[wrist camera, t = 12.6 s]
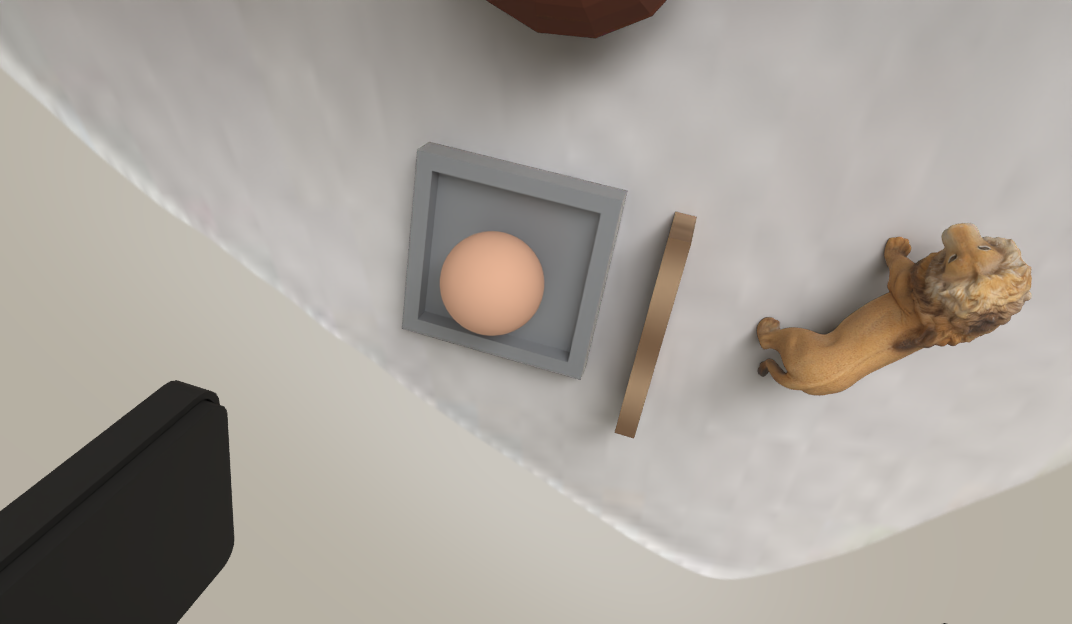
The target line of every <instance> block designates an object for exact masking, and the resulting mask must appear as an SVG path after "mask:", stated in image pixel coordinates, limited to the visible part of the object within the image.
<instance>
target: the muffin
mask: <svg viewBox="0 0 1072 624" xmlns="http://www.w3.org/2000/svg"><path fill="white" fill-rule="evenodd" d="M486 1H488V2H489V3H491V4H493V5H494V6H496V7H497V8H499V9H501V10H502V11H504V12H506V13H507V14H509V15H510V16H512V17H514V18H515V19H517V20H518V21H520V22H522V23H523V24H525V25H526V26H528V27H530V28H531V29H533V30H534V31H536V32H538V33H548V34H558V35H568V36H578V37H588V38H598V37H600V36H603V35H605V34H608V33H610V32H613V31H615V30H618V29H620V28H623V27H626V26H628V25H631V24H633V23H636V22H638V21H641V20H643V19H646V18H648V17H651V16H653V15H654V13H655V12H656V11H657V10H658V9H659V8H660V7H661V6H662V5H663V4H664V3H665V1H666V0H486Z"/></svg>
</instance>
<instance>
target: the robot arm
mask: <svg viewBox="0 0 1072 624" xmlns="http://www.w3.org/2000/svg"><path fill="white" fill-rule="evenodd" d="M230 473H231V472H230V453H229V435H228V417H227V410H226V409H225V407H224V406H221V405H220V403H219V398H218V396H217V395H216V393H214V392H212V391H209V390H206V389H203V388H200V387H196V386H193V385H190V384H187V383H184V382H180V381H177V380H176V381H170V382H169V383H167V384H165V385H163V386H162V387H161V388H160V389H158V390H157V391H156V392H155V393H153V394H152V395H151V396H149V397H148V398H147V399H145V400H144V401H143V402H141V403H140V404H139V405H137V406H136V407H135V408H134V409H132V410H131V411H130V412H128V413H127V414H126V415H125V416H123V417H122V418H121V419H119V420H118V421H117V422H116V423H114V424H113V425H112V426H110V427H109V428H108V429H107V430H105V431H104V432H103V433H101V434H100V435H99V436H98V437H96V438H95V439H93V440H92V441H91V442H89V443H88V444H87V445H86V446H84V447H83V448H82V449H80V450H79V451H78V452H77V453H75V454H74V455H73V456H71V457H70V458H69V459H67V460H66V461H65V462H64V463H62V464H61V465H60V466H58V467H57V468H56V469H55V470H53V471H52V472H51V473H49V474H48V475H47V476H46V477H44V478H43V479H41V480H40V481H39V482H38V483H36V484H35V485H34V486H33V487H31V488H30V489H29V490H28V491H26V492H25V493H23V494H22V495H21V496H19V497H18V498H17V499H16V500H14V501H13V502H12V503H10V504H9V505H8V506H7V507H5V508H4V509H3V510H1V511H0V624H177V622H178V621H179V620H180V619H181V618H182V617H183V615H184V614H185V613H186V612H187V611H188V609H189V608H190V607H191V606H192V605H193V603H194V602H195V601H196V600H197V599H198V597H199V596H200V595H201V594H202V592H203V591H204V590H205V589H206V588H207V587H208V585H209V584H210V583H211V582H212V581H213V579H214V578H215V577H216V576H217V575H218V573H219V572H220V571H221V570H222V568H223V567H224V566H225V564H226V563H227V561H228V559H229V557H230V555H231V553H232V549H233V546H234V527H233V508H232V490H231V474H230ZM944 624H946V623H944Z"/></svg>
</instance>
